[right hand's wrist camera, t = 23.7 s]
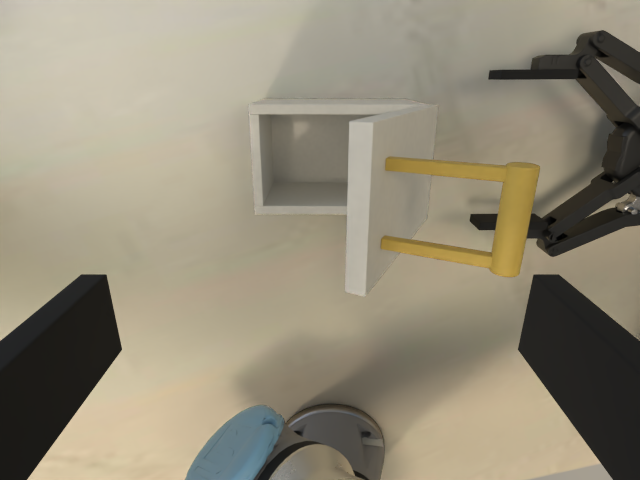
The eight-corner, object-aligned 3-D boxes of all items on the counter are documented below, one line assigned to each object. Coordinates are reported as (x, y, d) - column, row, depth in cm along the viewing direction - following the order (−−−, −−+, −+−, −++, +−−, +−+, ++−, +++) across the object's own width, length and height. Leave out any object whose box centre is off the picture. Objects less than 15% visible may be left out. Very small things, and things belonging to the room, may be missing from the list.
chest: (267, 188, 47) (254, 214, 37) (263, 98, 43) (248, 104, 34) (399, 188, 47) (418, 215, 37) (405, 98, 43) (428, 104, 34)
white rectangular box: (344, 292, 24) (510, 330, 20) (348, 121, 20) (550, 130, 17) (413, 216, 37) (520, 231, 33) (422, 104, 34) (544, 107, 30)
